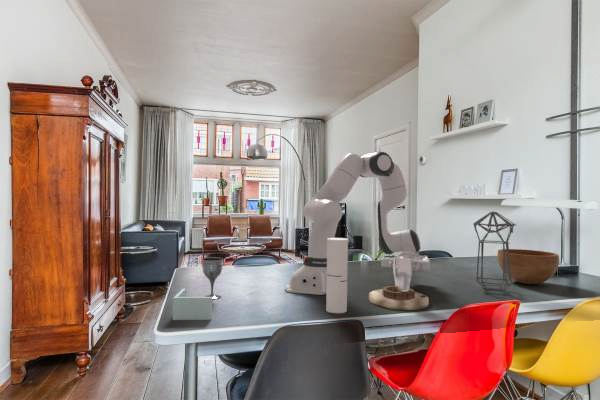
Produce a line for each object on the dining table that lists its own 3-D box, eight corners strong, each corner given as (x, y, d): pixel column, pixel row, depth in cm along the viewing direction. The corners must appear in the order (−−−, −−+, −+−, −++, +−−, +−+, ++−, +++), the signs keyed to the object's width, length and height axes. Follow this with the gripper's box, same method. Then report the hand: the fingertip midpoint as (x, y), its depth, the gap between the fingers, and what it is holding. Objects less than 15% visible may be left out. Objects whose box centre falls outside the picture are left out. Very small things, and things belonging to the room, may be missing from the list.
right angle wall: (211, 321, 112) (211, 297, 112) (172, 321, 111) (173, 297, 111) (217, 309, 124) (217, 288, 124) (182, 310, 123) (182, 288, 123)
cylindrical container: (324, 307, 127) (325, 237, 127) (344, 307, 127) (345, 237, 127) (327, 313, 120) (329, 239, 120) (348, 313, 120) (349, 240, 120)
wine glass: (203, 301, 132) (204, 261, 133) (199, 295, 140) (200, 257, 140) (224, 298, 136) (225, 259, 136) (219, 293, 143) (220, 256, 143)
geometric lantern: (474, 293, 150) (473, 211, 151) (473, 286, 164) (473, 211, 165) (517, 298, 143) (516, 211, 144) (512, 290, 157) (512, 211, 158)
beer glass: (413, 299, 131) (413, 258, 131) (393, 298, 132) (394, 258, 132) (410, 294, 138) (410, 256, 138) (392, 293, 139) (392, 255, 139)
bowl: (556, 282, 174) (557, 251, 174) (561, 292, 153) (561, 258, 153) (498, 276, 188) (499, 247, 188) (495, 285, 167) (495, 253, 167)
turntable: (372, 308, 125) (373, 296, 125) (365, 292, 147) (366, 282, 147) (436, 311, 124) (436, 298, 124) (419, 294, 146) (420, 283, 146)
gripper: (384, 252, 163) (377, 256, 150) (431, 255, 154) (428, 260, 142) (384, 266, 163) (377, 271, 150) (431, 270, 154) (428, 276, 142)
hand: (402, 266), depth 146 cm, fingers open, 8 cm apart
